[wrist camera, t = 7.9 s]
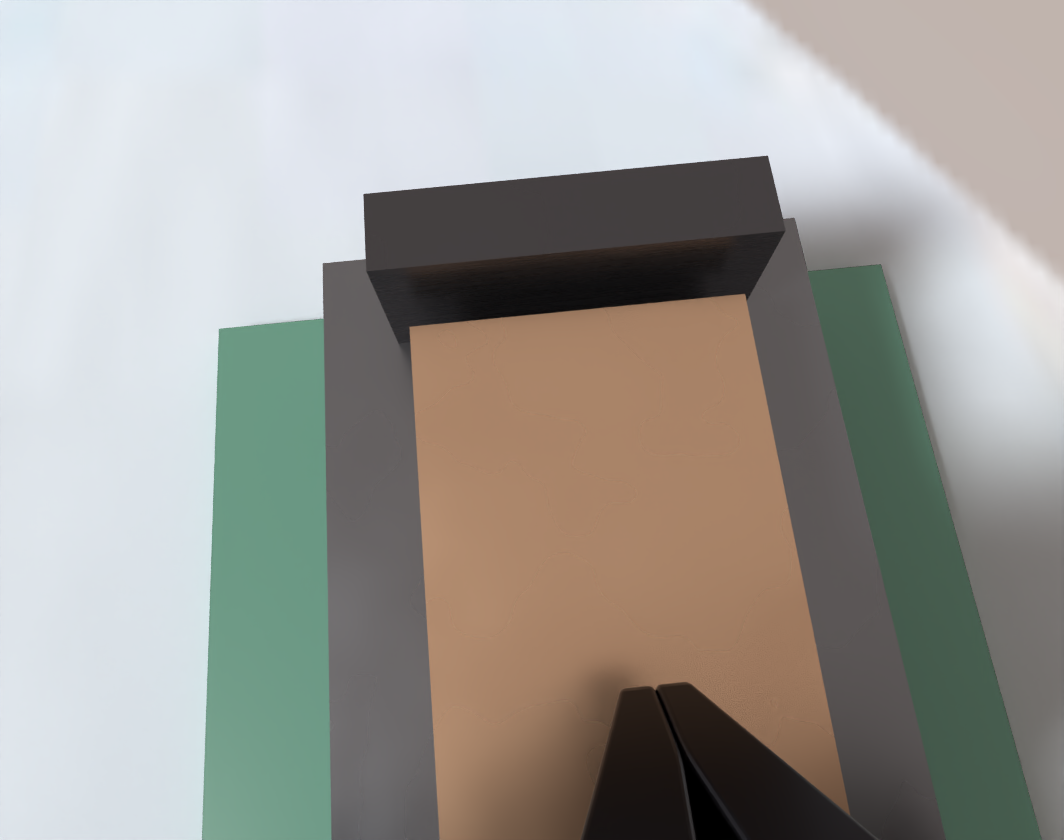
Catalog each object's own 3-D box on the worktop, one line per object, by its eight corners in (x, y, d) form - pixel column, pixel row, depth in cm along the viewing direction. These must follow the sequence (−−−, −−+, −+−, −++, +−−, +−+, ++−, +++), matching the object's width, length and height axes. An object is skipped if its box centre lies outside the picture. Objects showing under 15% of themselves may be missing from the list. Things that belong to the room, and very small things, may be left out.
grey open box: (892, 1027, 15) (1188, 1333, 8) (395, 1085, 15) (265, 1447, 8) (742, 311, 20) (846, 123, 13) (369, 348, 20) (275, 177, 13)
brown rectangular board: (848, 914, 11) (875, 938, 11) (456, 958, 11) (448, 988, 10) (731, 317, 14) (745, 293, 13) (418, 348, 14) (409, 326, 13)
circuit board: (1117, 1173, 15) (1140, 1193, 14) (200, 1283, 14) (186, 1308, 14) (871, 275, 21) (880, 264, 20) (227, 338, 21) (219, 329, 20)
